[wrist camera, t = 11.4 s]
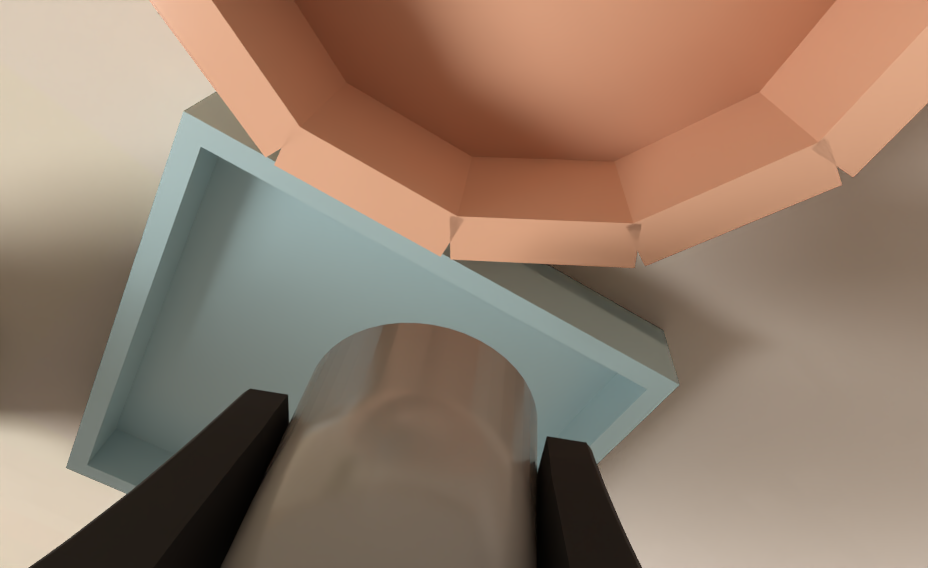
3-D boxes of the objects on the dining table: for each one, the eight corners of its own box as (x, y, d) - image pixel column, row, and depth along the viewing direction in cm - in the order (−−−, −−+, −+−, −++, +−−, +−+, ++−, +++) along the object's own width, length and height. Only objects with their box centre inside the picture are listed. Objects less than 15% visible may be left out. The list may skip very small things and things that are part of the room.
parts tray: (108, 416, 23) (66, 468, 21) (229, 83, 16) (183, 110, 14) (440, 563, 26) (431, 622, 24) (663, 330, 19) (679, 384, 17)
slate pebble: (307, 477, 12) (180, 794, 8) (307, 303, 10) (132, 607, 6) (515, 513, 12) (503, 852, 8) (559, 345, 10) (576, 685, 6)
